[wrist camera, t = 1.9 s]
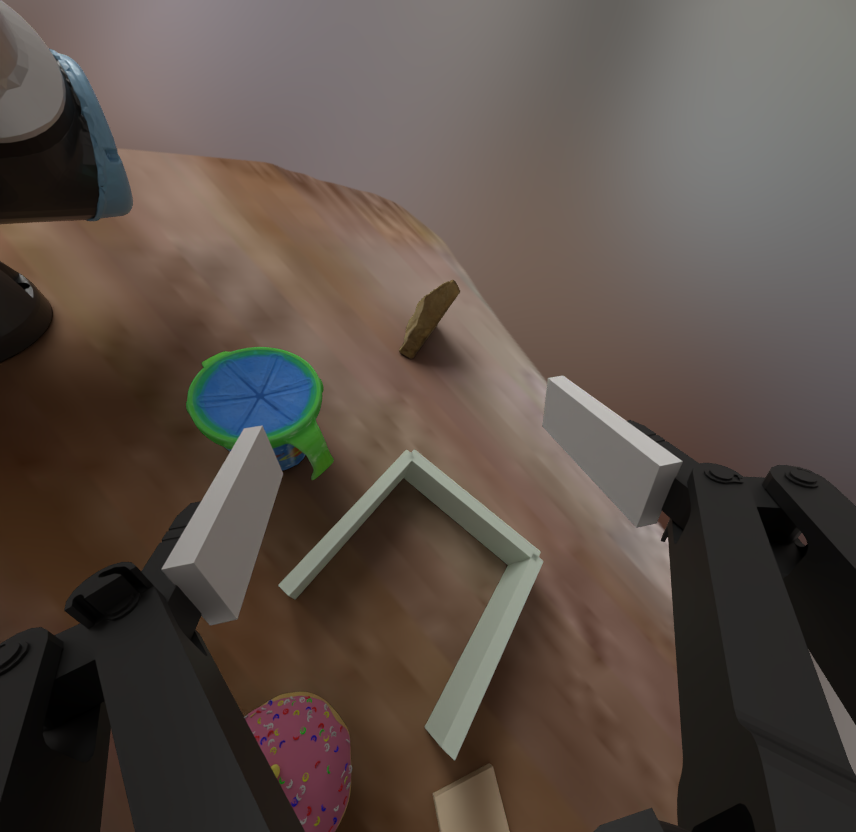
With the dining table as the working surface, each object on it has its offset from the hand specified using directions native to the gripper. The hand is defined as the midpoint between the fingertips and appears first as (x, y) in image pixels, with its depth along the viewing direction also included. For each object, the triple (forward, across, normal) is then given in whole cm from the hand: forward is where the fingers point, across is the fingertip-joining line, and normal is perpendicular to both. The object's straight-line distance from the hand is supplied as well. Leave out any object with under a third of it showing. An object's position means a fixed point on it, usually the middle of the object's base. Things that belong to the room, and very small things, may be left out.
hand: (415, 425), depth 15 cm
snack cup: (+20, -14, -12) cm, 27 cm away
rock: (+37, +5, -7) cm, 38 cm away
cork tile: (-8, 0, -31) cm, 32 cm away
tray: (+7, -2, -22) cm, 23 cm away
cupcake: (-3, -13, -25) cm, 28 cm away
